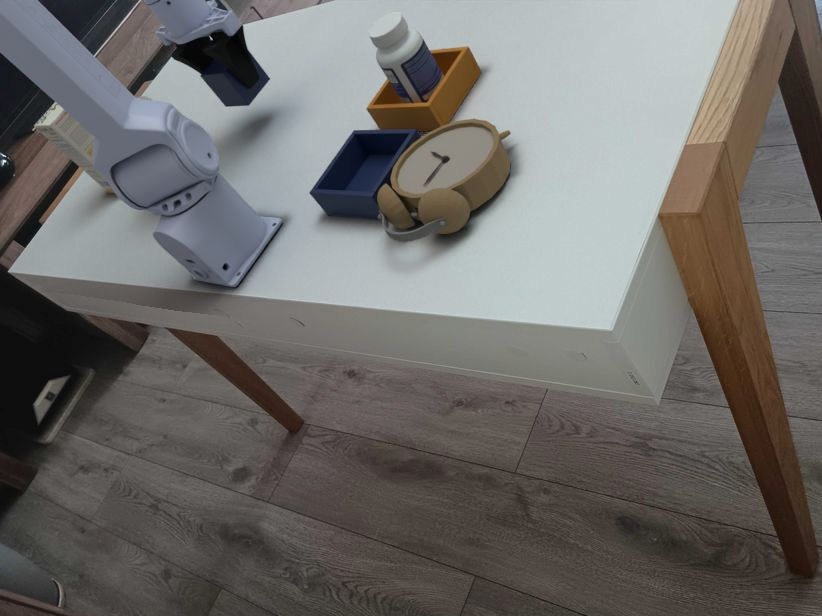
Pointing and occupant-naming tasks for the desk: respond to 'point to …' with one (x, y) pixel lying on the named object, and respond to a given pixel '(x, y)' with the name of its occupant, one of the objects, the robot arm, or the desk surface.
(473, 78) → the amber bin
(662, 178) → the desk surface
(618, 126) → the desk surface
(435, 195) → the alarm clock
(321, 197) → the navy bin
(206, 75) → the navy block
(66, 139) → the supplement box
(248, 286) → the desk surface
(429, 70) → the pill bottle
